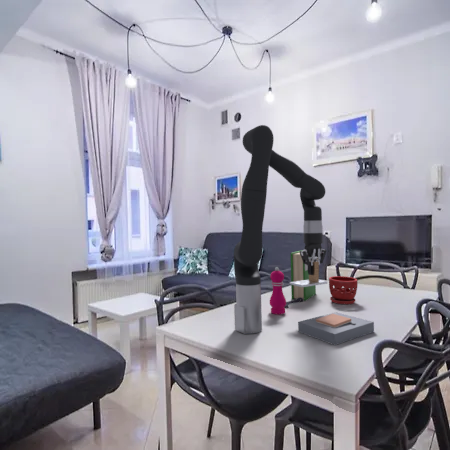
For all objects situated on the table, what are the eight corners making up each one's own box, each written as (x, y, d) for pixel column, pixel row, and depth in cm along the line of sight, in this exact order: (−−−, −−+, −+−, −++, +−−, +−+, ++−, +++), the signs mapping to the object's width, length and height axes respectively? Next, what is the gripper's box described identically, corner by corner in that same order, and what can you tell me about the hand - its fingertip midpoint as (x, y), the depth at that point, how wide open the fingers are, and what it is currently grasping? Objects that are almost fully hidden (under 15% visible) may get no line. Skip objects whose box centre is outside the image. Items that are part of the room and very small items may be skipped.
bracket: (311, 305, 152) (311, 300, 152) (285, 309, 146) (285, 303, 146) (294, 299, 165) (294, 294, 165) (269, 303, 160) (269, 297, 160)
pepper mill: (273, 309, 144) (272, 265, 144) (288, 311, 141) (287, 266, 141) (267, 313, 138) (266, 267, 138) (282, 315, 134) (281, 268, 135)
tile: (351, 318, 111) (351, 321, 111) (332, 313, 118) (332, 316, 118) (334, 324, 107) (334, 327, 107) (316, 319, 113) (316, 322, 113)
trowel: (302, 287, 120) (302, 264, 120) (289, 284, 126) (289, 262, 126) (327, 283, 128) (327, 261, 128) (314, 280, 134) (314, 259, 134)
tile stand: (335, 344, 101) (334, 332, 101) (298, 331, 114) (298, 320, 114) (374, 331, 112) (373, 320, 112) (336, 320, 125) (336, 311, 125)
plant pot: (329, 305, 150) (328, 279, 150) (329, 298, 163) (328, 275, 163) (359, 306, 146) (358, 280, 146) (357, 300, 158) (356, 276, 158)
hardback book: (305, 300, 160) (304, 253, 160) (291, 299, 164) (290, 252, 164) (315, 293, 175) (314, 250, 175) (302, 292, 179) (301, 250, 179)
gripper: (307, 232, 122) (308, 277, 122) (331, 231, 129) (332, 274, 129) (293, 232, 128) (294, 274, 128) (317, 231, 136) (318, 272, 135)
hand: (313, 274), depth 129 cm, fingers closed on trowel, 2 cm apart
